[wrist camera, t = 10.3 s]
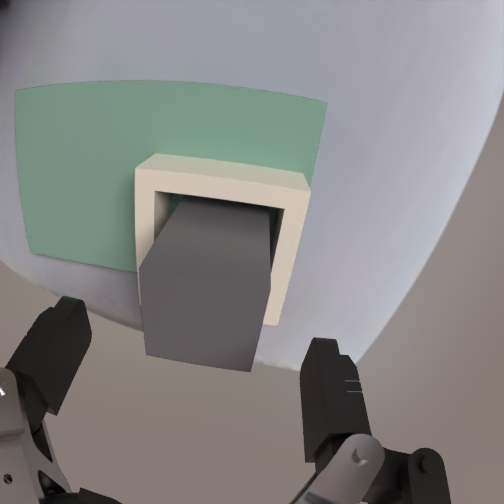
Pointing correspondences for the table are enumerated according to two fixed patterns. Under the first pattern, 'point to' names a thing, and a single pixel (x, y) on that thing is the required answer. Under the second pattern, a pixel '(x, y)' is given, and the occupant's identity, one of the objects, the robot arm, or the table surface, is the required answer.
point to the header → (228, 188)
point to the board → (140, 153)
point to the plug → (207, 283)
